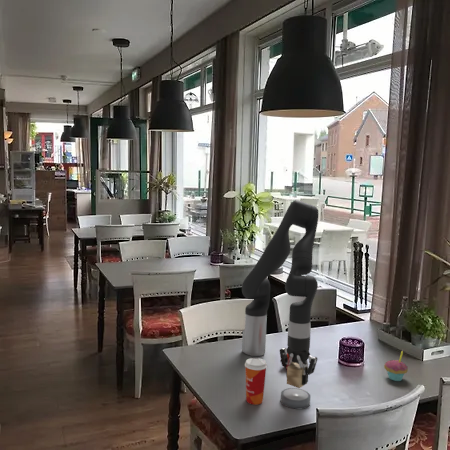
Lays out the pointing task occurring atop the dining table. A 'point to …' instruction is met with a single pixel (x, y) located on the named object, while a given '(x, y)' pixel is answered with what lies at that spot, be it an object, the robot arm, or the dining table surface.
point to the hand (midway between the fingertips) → (296, 381)
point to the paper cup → (255, 380)
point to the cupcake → (396, 369)
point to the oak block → (294, 375)
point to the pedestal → (295, 398)
